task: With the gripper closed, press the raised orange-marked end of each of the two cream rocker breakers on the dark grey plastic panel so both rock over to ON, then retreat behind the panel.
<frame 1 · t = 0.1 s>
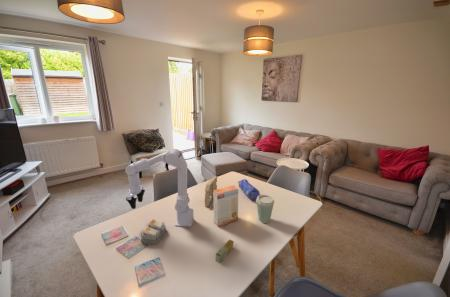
hand: (137, 204, 119), 10 cm above the table, tool pointing down, fingers open, 7 cm apart
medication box: (224, 254, 96), on the table
cracker box: (225, 221, 121), on the table
pencil case: (248, 194, 155), on the table
breaker b: (150, 231, 104), point 5 cm above the table, hinge at -25.0°
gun: (211, 199, 148), on the table
breaker a: (156, 224, 110), point 5 cm above the table, hinge at -25.0°
disposable coffee cup: (263, 220, 122), on the table
breaker panel: (154, 236, 108), on the table
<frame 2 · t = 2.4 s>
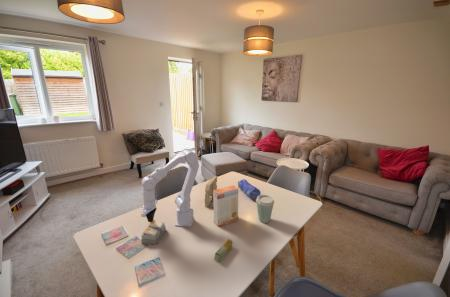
hand: (150, 221, 109), 7 cm above the table, tool pointing down, fingers closed, pressing on breaker a
breaker a: (156, 224, 110), point 5 cm above the table, hinge at -22.7°, touching gripper
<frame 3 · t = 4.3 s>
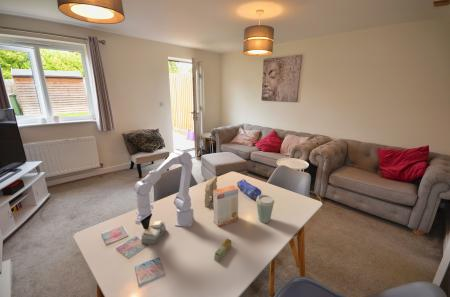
hand: (146, 228, 103), 7 cm above the table, tool pointing down, fingers closed, pressing on breaker b
breaker b: (150, 231, 104), point 5 cm above the table, hinge at -24.8°, touching gripper
breaker a: (155, 224, 110), point 5 cm above the table, hinge at 10.9°
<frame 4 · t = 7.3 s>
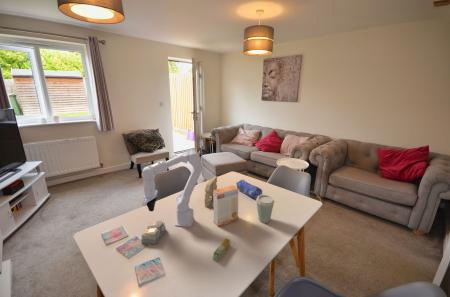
hand: (151, 210, 113), 10 cm above the table, tool pointing down, fingers closed
breaker b: (150, 231, 104), point 5 cm above the table, hinge at 13.3°
breaker a: (155, 224, 110), point 5 cm above the table, hinge at 16.1°
at the end: breaker a at +16° (first picture: -25°); breaker b at +14° (first picture: -25°) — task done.
